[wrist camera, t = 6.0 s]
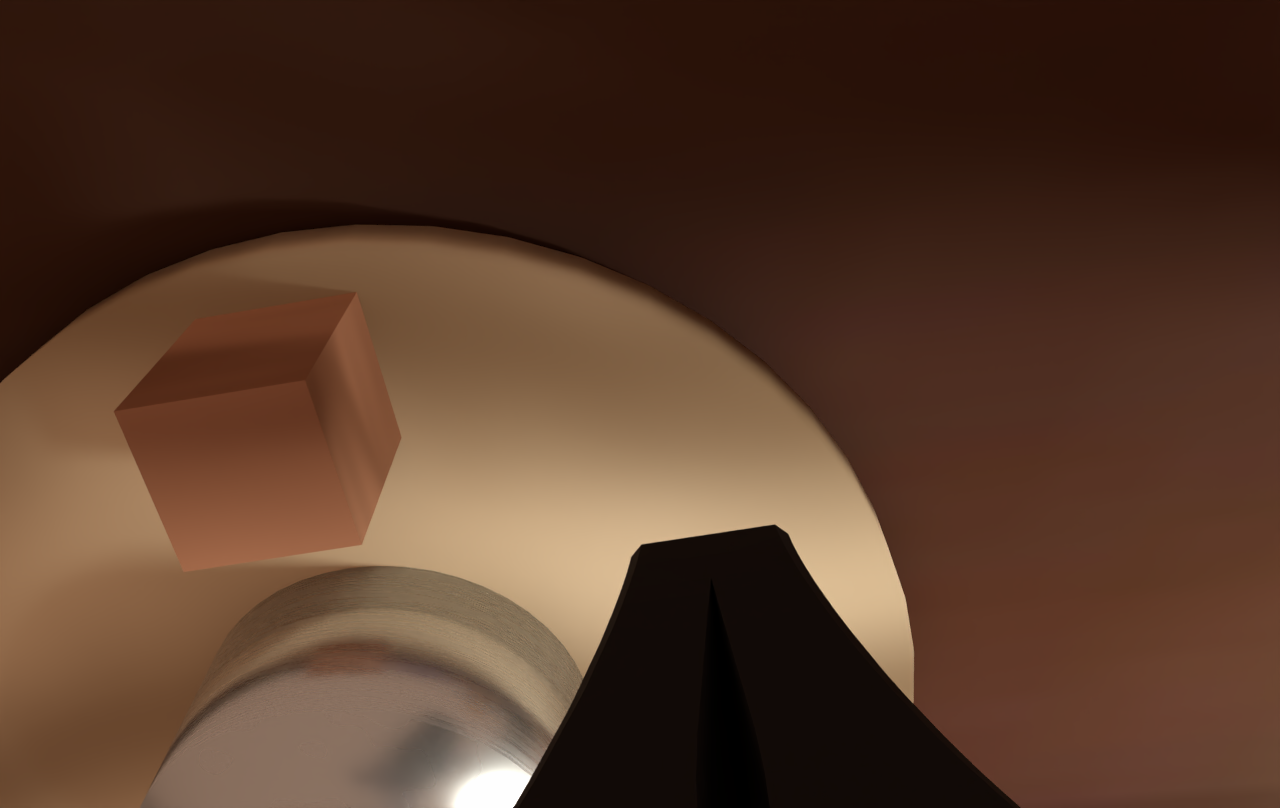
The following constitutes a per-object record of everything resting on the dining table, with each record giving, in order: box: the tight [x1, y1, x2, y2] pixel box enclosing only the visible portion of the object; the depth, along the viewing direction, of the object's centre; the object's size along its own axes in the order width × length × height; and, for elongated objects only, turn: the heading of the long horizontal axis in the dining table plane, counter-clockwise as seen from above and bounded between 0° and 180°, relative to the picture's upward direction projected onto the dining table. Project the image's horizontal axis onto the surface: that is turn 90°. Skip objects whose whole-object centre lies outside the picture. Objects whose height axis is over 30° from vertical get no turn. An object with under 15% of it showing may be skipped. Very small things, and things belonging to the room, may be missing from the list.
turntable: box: [0, 224, 914, 808], centre depth 20 cm, size 18×18×4 cm
